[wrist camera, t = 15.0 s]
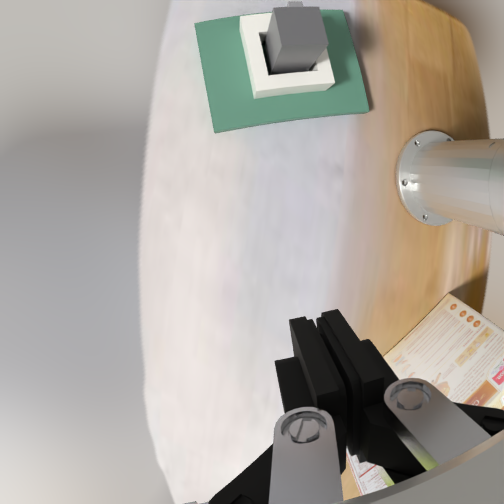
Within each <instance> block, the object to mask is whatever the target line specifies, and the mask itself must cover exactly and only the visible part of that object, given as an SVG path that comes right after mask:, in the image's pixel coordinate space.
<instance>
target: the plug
mask: <svg viewBox="0 0 504 504" xmlns="http://www.w3.org/2000/svg"><path fill="white" fill-rule="evenodd" d="M328 45H329V43H328V39H327V35H326V31H325V27H324V23H323V20H322V16H321V12H320V9H319V7H303V3H302V2H288V4H287V7H278V8H273V11H272V15H271V19H270V23H269V27H268V31H267V35H266V39H265V43H264V47H263V49H264V54H265V59H266V65H267V70H268V76H269V75H277V74H286V73H296V72H307V71H308V70H309V69H310V68H311V66H312V65H313V64H314V63H315V61H316V60H317V59H318V57H319V56H320V55H321V54H322V52H323V51H324V50H325V49H326V47H327V46H328Z"/></svg>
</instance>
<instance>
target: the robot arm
mask: <svg viewBox="0 0 504 504" xmlns="http://www.w3.org/2000/svg"><path fill="white" fill-rule="evenodd" d="M402 181H403V183H402ZM396 186H397V190H398V194H399V197H400V199H401V202H402V204H403V205H404V207H405V209H406V210H407V211H408V212H409V214H410V215H411V216H412V217H414V218H415V219H416V220H418V221H420V222H422V223H424V224H428V225H431V226H440V225H444V224H447V223H449V222H451V221H452V220H456V221H459V222H463V223H466V224H469V225H472V226H476V227H479V228H482V229H485V230H488V231H491V232H494V233H497V234H500V235H503V236H504V139H478V140H459V141H455V140H454V139H453V138H452V137H450V136H448V135H447V134H445V133H442V132H439V131H424V132H421V133H418V134H416V135H415V136H413V137H411V138H410V139H409V140H408V141H407V142H406V144H405V145H404V147H403V148H402V150H401V153H400V155H399V157H398V161H397V166H396ZM316 322H317V327H316V325H315V323H314V321H313V320H312V319H310V320H307V319H306V317H305V316H304V317H300V318H295V319H290V320H289V324H290V331H291V337H292V344H293V351H294V357H291V358H286V359H281V360H276V361H275V366H276V372H277V377H278V382H279V387H280V393H281V398H282V403H283V408H284V412H285V414H284V415H283V416H281V417H280V418H279V420H278V421H277V422H276V425H275V428H274V440H273V444H272V445H271V446H270V447H269V448H268V449H267V450H266V451H265V452H264V453H263V454H262V455H260V456H259V457H258V458H257V459H256V460H255V461H254V462H253V463H252V464H251V465H250V466H248V467H247V468H246V469H245V470H244V471H243V472H242V473H240V474H239V475H238V476H237V477H236V478H235V479H234V480H232V481H231V482H230V483H229V484H228V485H226V486H225V487H224V488H223V489H222V490H220V491H219V492H218V493H217V494H215V495H214V497H213V498H212V499H211V500H210V501H209V502H206V503H201V504H504V410H502V409H498V408H491V407H483V406H476V405H469V404H462V403H456V402H452V401H451V400H449V399H448V398H447V397H446V396H445V395H444V394H443V393H441V392H440V391H439V390H438V389H437V388H436V387H435V386H433V385H432V384H431V383H429V382H428V381H426V380H423V379H420V378H405V379H401V380H399V378H398V377H397V376H396V374H395V373H394V372H393V370H392V369H391V367H390V366H389V365H388V363H387V362H386V361H385V359H384V358H383V357H382V355H381V354H380V353H379V351H378V350H377V348H376V347H375V346H374V344H373V343H372V342H371V341H370V340H369V339H366V340H362V341H360V340H359V338H358V337H357V336H356V334H355V333H354V331H353V330H352V328H351V327H350V326H349V324H348V323H347V321H346V320H345V318H344V317H343V316H342V314H341V313H340V311H339V310H338V309H335V310H331V311H327V312H322V314H321V317H319V318H317V319H316ZM347 449H348V451H349V454H350V456H354V455H356V456H357V458H358V461H359V463H363V462H366V461H367V462H368V463H371V464H374V465H376V469H377V471H378V473H379V475H380V476H381V478H382V479H383V481H384V482H385V484H386V485H387V487H386V488H384V489H381V490H378V491H375V492H372V493H369V494H366V495H362V496H359V497H356V498H352V499H349V500H345V501H343V493H342V483H341V474H342V473H343V471H344V470H345V469H346V451H347ZM185 504H198V503H197V502H196V501H195V502H190V503H185Z"/></svg>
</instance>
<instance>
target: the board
mask: <svg viewBox="0 0 504 504" xmlns="http://www.w3.org/2000/svg"><path fill="white" fill-rule="evenodd" d="M320 12H321V16H322V20H323V23H324V27H325V31H326V35H327V39H328V43H329V45H328V46H327V47H326V48H327V52H328V56H329V60H330V64H331V68H332V72H333V76H334V80H335V83H334V84H333V85H332V86H331V87H330V88H328V89H327V90H326V91H314V92H304V93H294V94H286V95H278V96H271V97H264V98H257V99H254V96H253V91H252V86H251V81H250V76H249V71H248V67H247V62H246V57H245V52H244V48H243V43H242V39H241V34H240V30H239V29H240V16H246V15H240V16H233V17H227V18H221V19H215V20H209V21H204V22H199V23H194V24H195V30H196V35H197V41H198V46H199V52H200V58H201V63H202V69H203V74H204V80H205V85H206V90H207V96H208V101H209V107H210V112H211V117H212V123H213V128H214V132H215V133H220V132H225V131H230V130H236V129H241V128H247V127H253V126H259V125H265V124H271V123H278V122H285V121H293V120H300V119H309V118H318V117H327V116H338V115H350V114H364V113H367V112H370V111H369V106H368V102H367V97H366V92H365V88H364V84H363V80H362V75H361V71H360V67H359V64H358V60H357V56H356V52H355V49H354V45H353V42H352V38H351V35H350V31H349V28H348V25H347V22H346V19H345V15H344V12H343V10H320ZM266 13H272V12H266ZM257 14H264V13H257ZM248 15H254V14H248ZM261 45H262V49H263V47H264V44H261ZM263 54H264V49H263ZM264 58H265V54H264ZM265 63H266V59H265ZM266 67H267V65H266ZM308 71H309V70H308ZM267 72H268V70H267Z"/></svg>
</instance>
